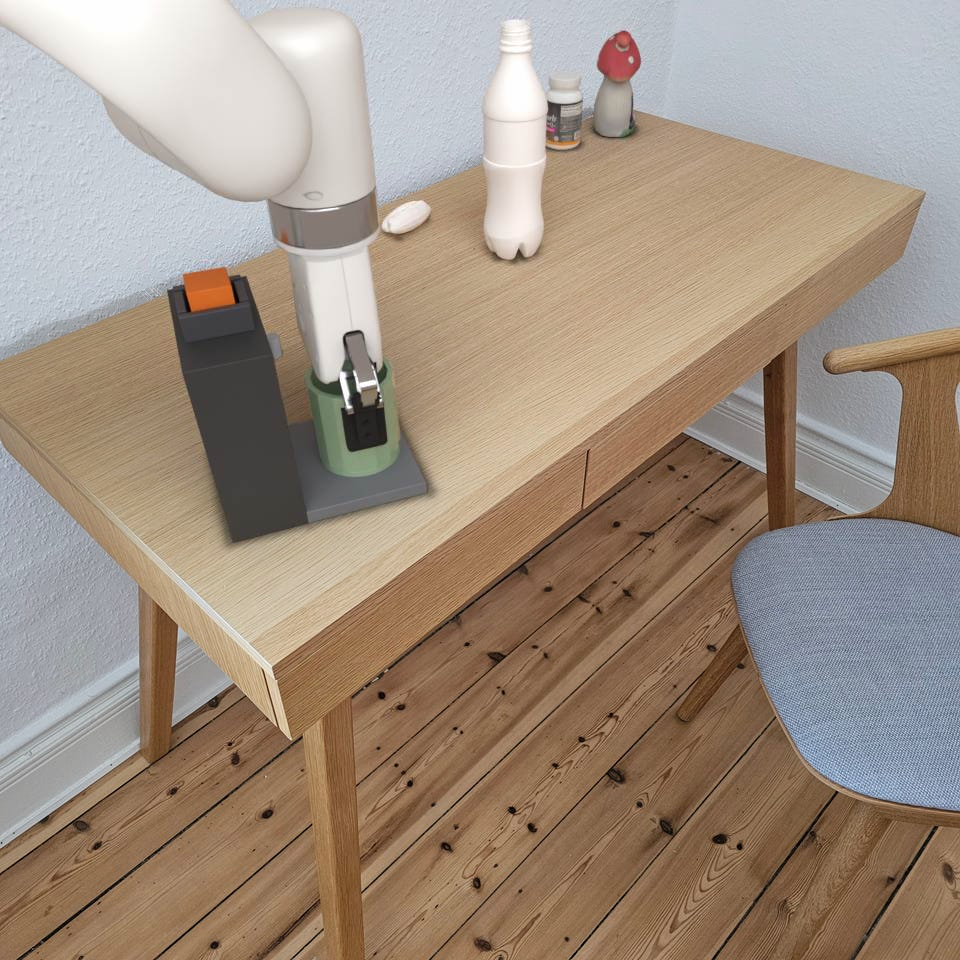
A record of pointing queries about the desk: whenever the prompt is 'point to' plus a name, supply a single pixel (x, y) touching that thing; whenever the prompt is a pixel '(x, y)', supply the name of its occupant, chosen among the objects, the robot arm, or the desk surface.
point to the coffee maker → (264, 426)
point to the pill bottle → (564, 110)
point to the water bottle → (514, 147)
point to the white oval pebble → (406, 217)
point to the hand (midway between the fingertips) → (352, 411)
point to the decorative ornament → (616, 86)
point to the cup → (331, 431)
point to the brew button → (208, 289)
